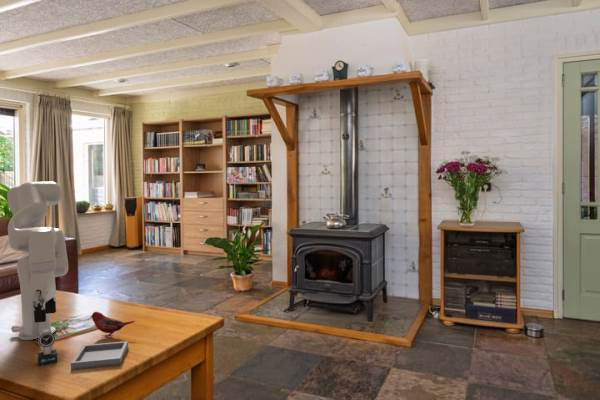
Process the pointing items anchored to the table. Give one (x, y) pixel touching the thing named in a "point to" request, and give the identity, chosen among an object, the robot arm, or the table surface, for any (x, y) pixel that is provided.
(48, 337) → the watch
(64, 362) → the table surface
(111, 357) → the tray
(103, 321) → the decorative bird figurine
